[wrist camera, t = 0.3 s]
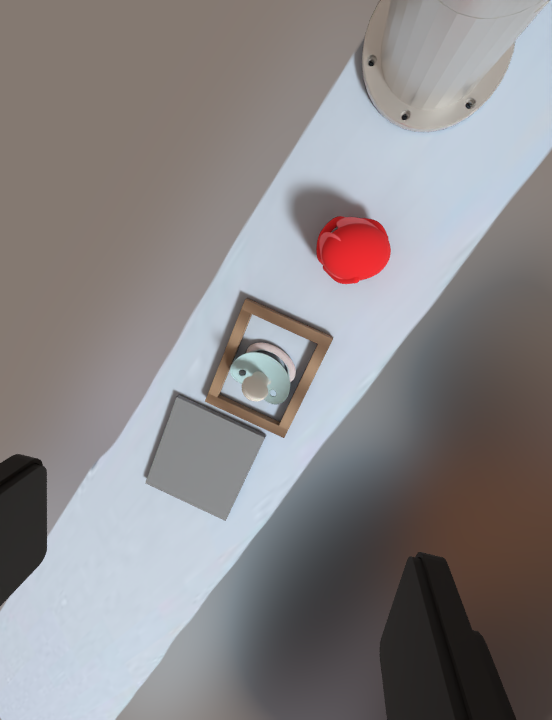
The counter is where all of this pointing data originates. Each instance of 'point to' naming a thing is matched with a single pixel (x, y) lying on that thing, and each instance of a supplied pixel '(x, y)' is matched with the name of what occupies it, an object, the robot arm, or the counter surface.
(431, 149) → the counter surface
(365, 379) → the counter surface
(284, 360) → the pacifier
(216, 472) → the slate mat
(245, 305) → the pocket frame
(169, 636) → the counter surface
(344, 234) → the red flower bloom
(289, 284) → the counter surface
